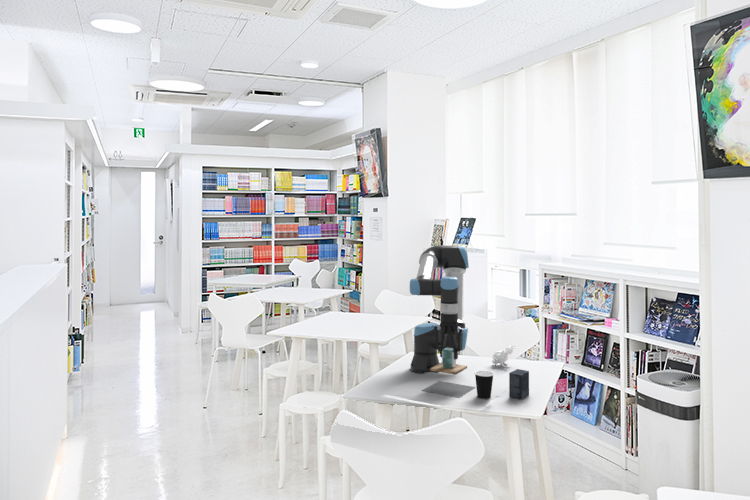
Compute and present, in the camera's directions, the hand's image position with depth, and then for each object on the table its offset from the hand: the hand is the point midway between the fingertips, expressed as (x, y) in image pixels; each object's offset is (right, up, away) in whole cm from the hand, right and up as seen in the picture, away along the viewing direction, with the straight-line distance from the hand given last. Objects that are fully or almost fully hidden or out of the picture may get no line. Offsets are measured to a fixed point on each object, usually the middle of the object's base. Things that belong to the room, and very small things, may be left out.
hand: (448, 365), depth 230 cm
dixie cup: (+13, -12, -11) cm, 21 cm away
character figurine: (+35, -10, +44) cm, 57 cm away
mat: (0, -11, 0) cm, 11 cm away
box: (+29, -12, -7) cm, 32 cm away
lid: (0, -2, 0) cm, 2 cm away
